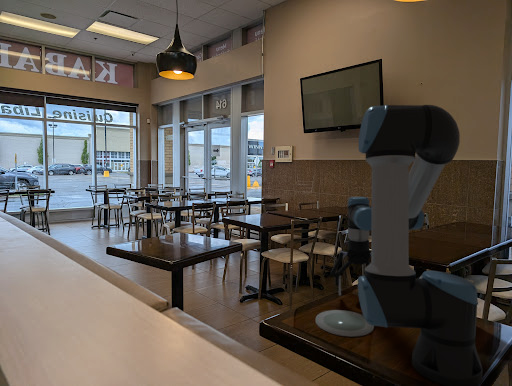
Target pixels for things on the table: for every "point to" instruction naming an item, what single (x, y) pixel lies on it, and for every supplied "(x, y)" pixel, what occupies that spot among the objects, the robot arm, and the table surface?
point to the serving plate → (343, 323)
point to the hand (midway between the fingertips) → (358, 295)
